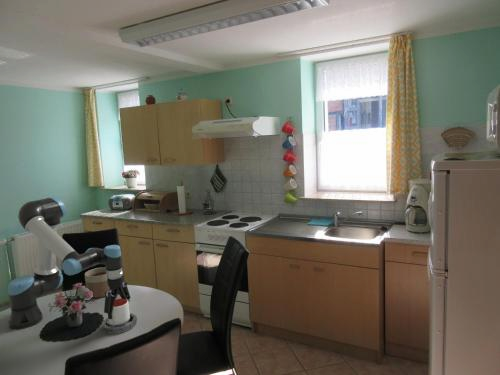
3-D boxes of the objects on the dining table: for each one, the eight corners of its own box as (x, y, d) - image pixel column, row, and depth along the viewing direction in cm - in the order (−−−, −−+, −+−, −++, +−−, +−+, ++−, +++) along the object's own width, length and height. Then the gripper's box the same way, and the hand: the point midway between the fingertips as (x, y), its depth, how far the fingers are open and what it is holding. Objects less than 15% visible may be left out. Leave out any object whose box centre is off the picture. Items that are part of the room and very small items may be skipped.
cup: (123, 327, 180) (121, 307, 179) (104, 325, 182) (102, 306, 181) (133, 317, 190) (132, 298, 189) (116, 316, 192) (114, 297, 191)
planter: (81, 298, 221) (79, 276, 219) (96, 287, 237) (94, 266, 235) (105, 299, 219) (103, 276, 217) (119, 288, 234) (117, 267, 232)
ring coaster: (95, 331, 181) (95, 326, 181) (117, 316, 196) (116, 311, 196) (123, 335, 176) (122, 330, 176) (142, 319, 191) (142, 314, 191)
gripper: (105, 286, 171) (110, 331, 174) (135, 269, 192) (139, 309, 195) (92, 285, 174) (97, 329, 177) (123, 268, 195) (127, 308, 198)
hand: (119, 319), depth 186 cm, fingers closed on cup, 10 cm apart
